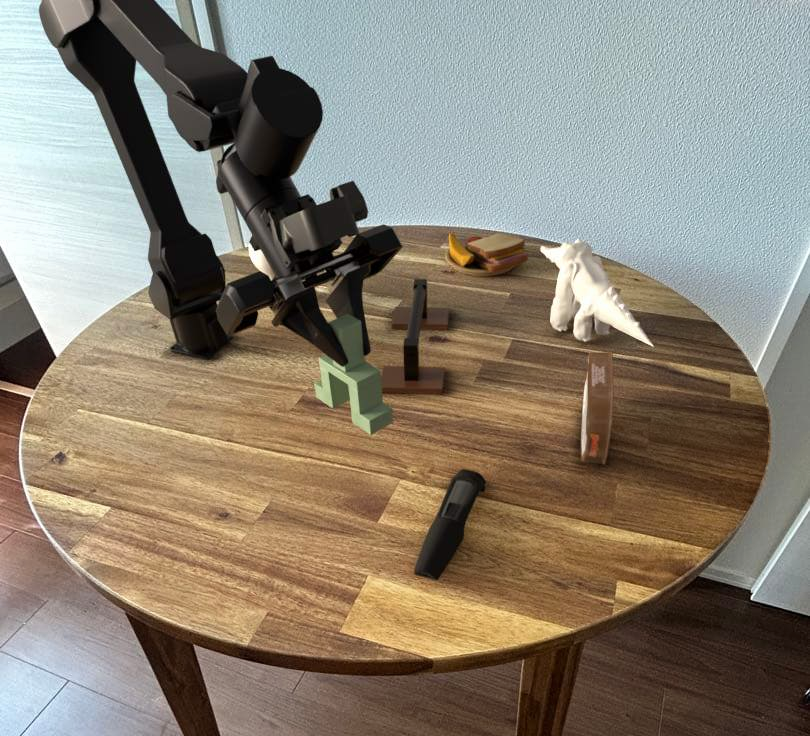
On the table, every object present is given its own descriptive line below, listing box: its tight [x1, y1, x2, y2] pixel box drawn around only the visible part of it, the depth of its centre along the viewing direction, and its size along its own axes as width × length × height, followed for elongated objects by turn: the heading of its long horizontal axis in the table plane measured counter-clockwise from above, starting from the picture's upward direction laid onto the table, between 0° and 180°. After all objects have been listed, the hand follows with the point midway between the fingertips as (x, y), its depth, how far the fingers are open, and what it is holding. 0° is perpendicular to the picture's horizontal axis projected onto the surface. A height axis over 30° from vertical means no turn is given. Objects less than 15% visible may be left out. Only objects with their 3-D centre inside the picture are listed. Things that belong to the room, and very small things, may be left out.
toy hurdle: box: [381, 278, 450, 395], centre depth 87 cm, size 8×21×6 cm, turn 175°
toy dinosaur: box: [540, 238, 655, 348], centre depth 86 cm, size 7×24×11 cm, turn 28°
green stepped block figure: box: [314, 314, 394, 436], centre depth 64 cm, size 9×3×10 cm, turn 42°
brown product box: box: [580, 351, 614, 465], centre depth 72 cm, size 15×3×8 cm, turn 168°
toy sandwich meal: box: [444, 232, 529, 277], centre depth 105 cm, size 12×14×5 cm
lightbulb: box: [248, 242, 275, 281], centre depth 96 cm, size 6×6×11 cm
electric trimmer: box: [413, 468, 487, 581], centre depth 64 cm, size 4×16×3 cm, turn 159°
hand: (356, 359), depth 62 cm, fingers closed on green stepped block figure, 2 cm apart
